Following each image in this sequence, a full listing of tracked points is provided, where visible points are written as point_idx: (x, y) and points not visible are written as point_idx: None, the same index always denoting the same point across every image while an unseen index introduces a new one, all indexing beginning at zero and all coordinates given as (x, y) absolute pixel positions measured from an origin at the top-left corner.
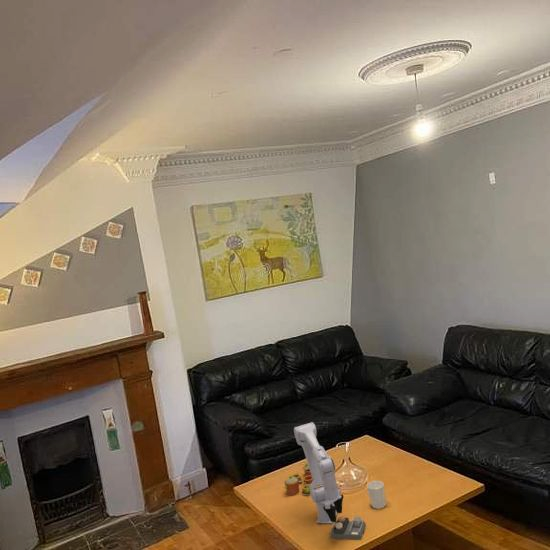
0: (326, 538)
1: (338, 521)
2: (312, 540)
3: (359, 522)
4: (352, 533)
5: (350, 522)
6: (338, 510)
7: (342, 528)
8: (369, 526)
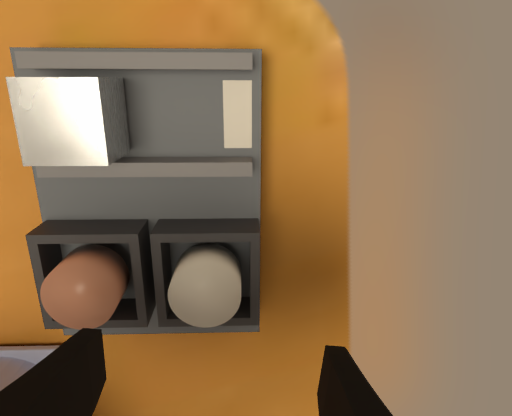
0: (264, 335)
1: None
2: (294, 411)
3: (106, 80)
4: (243, 138)
5: (60, 203)
6: (87, 387)
7: (214, 247)
8: (31, 11)
